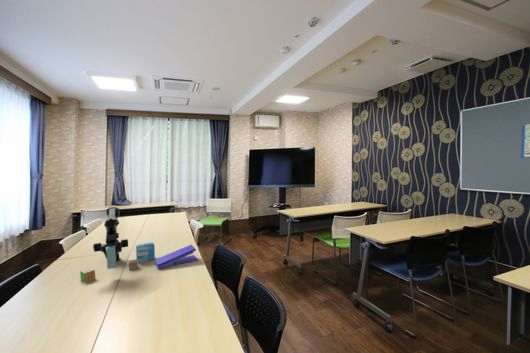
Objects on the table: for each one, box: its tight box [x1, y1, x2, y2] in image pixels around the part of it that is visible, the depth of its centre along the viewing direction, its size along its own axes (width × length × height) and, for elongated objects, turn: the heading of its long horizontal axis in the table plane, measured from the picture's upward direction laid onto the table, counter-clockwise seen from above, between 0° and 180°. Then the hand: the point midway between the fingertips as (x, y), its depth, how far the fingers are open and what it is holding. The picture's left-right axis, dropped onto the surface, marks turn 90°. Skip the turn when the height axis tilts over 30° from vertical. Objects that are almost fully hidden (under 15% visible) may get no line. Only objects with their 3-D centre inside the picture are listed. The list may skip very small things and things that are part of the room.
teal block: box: [106, 245, 117, 270], centre depth 152 cm, size 4×4×13 cm
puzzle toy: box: [79, 267, 96, 283], centre depth 150 cm, size 6×6×6 cm
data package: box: [135, 242, 156, 263], centre depth 180 cm, size 12×4×12 cm, turn 120°
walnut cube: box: [128, 258, 139, 271], centre depth 166 cm, size 5×5×5 cm
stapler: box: [154, 244, 199, 271], centre depth 175 cm, size 12×28×10 cm, turn 124°
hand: (111, 257), depth 150 cm, fingers closed on teal block, 4 cm apart
